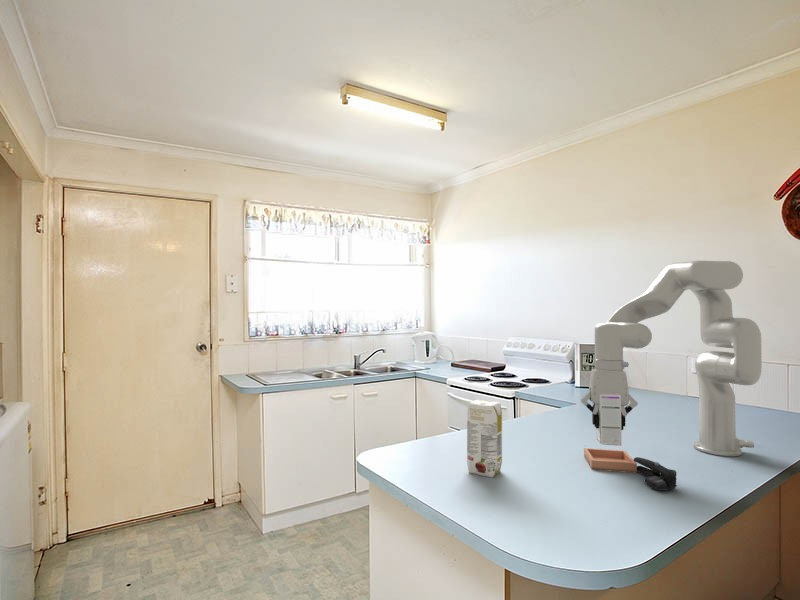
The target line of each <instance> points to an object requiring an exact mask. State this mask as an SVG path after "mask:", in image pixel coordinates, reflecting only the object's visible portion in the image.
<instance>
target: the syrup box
mask: <svg viewBox="0 0 800 600" xmlns="http://www.w3.org/2000/svg"><path fill="white" fill-rule="evenodd" d="M598 415H599V428H596V440H597V441H598V442H599V443H600V445H604V446H619V447H621V446H622V430H621V395H619V394H600V403H599V410H598Z"/></svg>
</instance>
